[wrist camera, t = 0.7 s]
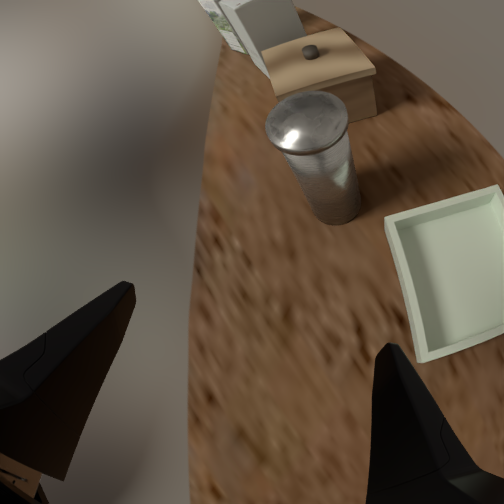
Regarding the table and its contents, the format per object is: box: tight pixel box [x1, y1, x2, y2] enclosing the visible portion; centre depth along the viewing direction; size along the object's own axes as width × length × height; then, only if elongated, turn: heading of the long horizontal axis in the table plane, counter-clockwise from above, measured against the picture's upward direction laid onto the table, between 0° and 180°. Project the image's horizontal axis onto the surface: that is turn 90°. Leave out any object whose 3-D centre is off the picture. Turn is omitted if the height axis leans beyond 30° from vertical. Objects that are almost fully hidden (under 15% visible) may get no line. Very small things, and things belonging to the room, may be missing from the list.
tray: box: [385, 185, 504, 363], centre depth 18 cm, size 11×11×2 cm
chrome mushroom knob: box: [265, 91, 361, 225], centre depth 21 cm, size 5×5×11 cm
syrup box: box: [198, 0, 249, 55], centre depth 35 cm, size 6×6×14 cm
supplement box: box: [219, 0, 307, 78], centre depth 31 cm, size 7×7×13 cm
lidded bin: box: [261, 27, 377, 123], centre depth 27 cm, size 10×10×8 cm
